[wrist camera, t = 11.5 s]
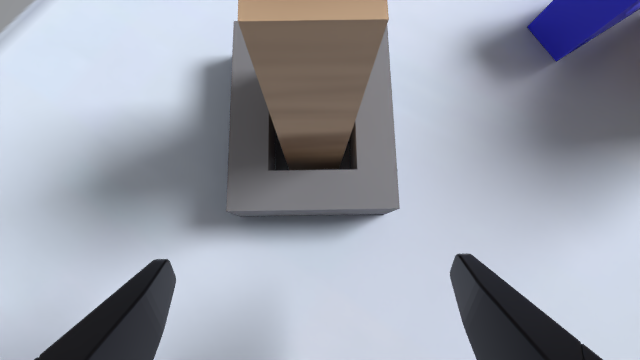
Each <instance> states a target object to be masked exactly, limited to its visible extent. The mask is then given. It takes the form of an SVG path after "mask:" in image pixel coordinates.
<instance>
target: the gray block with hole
mask: <svg viewBox="0 0 640 360" xmlns="http://www.w3.org/2000/svg"><path fill="white" fill-rule="evenodd" d="M349 147H350V170H282V171H275V156H276V130H275V128H274V125H273V122H272V119H271V116H270V113H269V110H268V107H267V104H266V101H265V99H264V96H263V93H262V90H261V87H260V84H259V81H258V78H257V75H256V73H255V70H254V67H253V64H252V61H251V58H250V55H249V52H248V49H247V46H246V44H245V41H244V38H243V35H242V32H241V29H240V26H239V23H238V21H234V30H233V55H232V81H231V106H230V131H229V156H228V181H227V207H226V211H227V212H230V213H233V214H235V215H238V216H291V215H350V214H387V213H389V212H392V211H394V210H397V209H399V193H398V178H397V163H396V148H395V134H394V119H393V104H392V89H391V74H390V59H389V45H388V30H387V26H386V29H385V32H384V35H383V38H382V41H381V44H380V47H379V50H378V53H377V56H376V59H375V62H374V65H373V68H372V71H371V74H370V77H369V80H368V83H367V86H366V89H365V92H364V95H363V98H362V101H361V104H360V107H359V110H358V113H357V117H356V120H355V123H354V126H353V129H352V132H351V135H350V138H349Z"/></svg>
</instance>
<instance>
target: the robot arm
mask: <svg viewBox="0 0 640 360" xmlns="http://www.w3.org/2000/svg"><path fill="white" fill-rule="evenodd" d="M450 278H451V282H452V286H453V289H454V293H455V297H456V300H457V304H458V308H459V312H460V315H461V319H462V322H463V325H464V328H465V331H466V333H467V336H468V339H469V341H470V344H471V346H472V349H473V351H474V354H475V356H476V359H477V360H603V359H602V358H600V357H599V356H598V355H596V354H595V353H594V352H593V351H591V350H590V349H589V348H588V347H586V346H585V345H584V344H581V342H580V341H579V340H578V339H576V338H575V337H574V336H573V335H571V334H570V333H569V332H568V331H566V330H565V329H564V328H563V327H561V326H560V325H559V324H558V323H556V322H555V321H554V320H553V319H551V318H550V317H549V316H548V315H546V314H545V313H544V312H543V311H541V310H540V309H539V308H538V307H536V306H535V305H534V304H533V303H531V302H530V301H529V300H528V299H526V298H525V297H524V296H523V295H521V294H520V293H519V292H518V291H516V290H515V289H514V288H513V287H511V286H510V285H509V284H508V283H506V282H505V281H504V280H503V279H501V278H500V277H499V276H498V275H496V274H495V273H494V272H493V271H491V270H490V269H489V268H488V267H486V266H485V265H484V264H483V263H481V262H480V261H479V260H478V259H476V258H475V257H474V256H473V255H471V254H457V255H456V256H455V258H454V261H453V264H452V267H451V270H450ZM175 284H176V277H175V274H174V271H173V268H172V266H171V263H170V261H169V260H168V259H156V260H153V261H152V262H151V263H149V264H148V265H147V266H146V267H145V268H143V269H142V270H141V271H140V272H139V273H137V274H136V275H135V276H134V277H133V278H131V279H130V280H129V281H128V282H127V283H125V284H124V285H123V286H122V287H121V288H119V289H118V290H117V291H116V292H115V293H113V294H112V295H111V296H110V297H109V298H108V299H106V300H105V301H104V302H103V303H102V304H100V305H99V306H98V307H97V308H96V309H94V310H93V311H92V312H91V313H90V314H88V315H87V316H86V317H85V318H84V319H82V320H81V321H80V322H79V323H78V324H76V325H75V326H74V327H73V328H72V329H70V330H69V331H68V332H67V333H66V334H64V335H63V336H62V337H61V338H60V339H58V340H57V341H56V342H55V343H54V344H52V345H51V346H50V347H49V348H48V349H46V350H45V351H44V352H43V353H42V354H41V355H40V356H39V357H37V358H36V359H34V360H153V359H154V357H155V354H156V351H157V348H158V346H159V343H160V340H161V337H162V334H163V331H164V328H165V324H166V320H167V316H168V312H169V308H170V304H171V300H172V296H173V292H174V288H175Z"/></svg>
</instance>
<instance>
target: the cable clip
mask: <svg viewBox="0 0 640 360" xmlns="http://www.w3.org/2000/svg"><path fill="white" fill-rule="evenodd" d="M639 9H640V0H553V1H552V2H551V3H550V4H549V5H548V6H547V7H546V8H545V9H544V10H543V11H542V12H541V13H540V14H539V15H538V16H537V17H536V18H535V19H534V20H533V21H532V22H531V24H530V25H529V26H528V27H527V28H528V29H529V30H530V31H531V32H532V34H533V35H534V36H535V37H536V38H537V40H538V41H539V42H540V43H541V44H542V46H543V47H544V48H545V49H546V50H547V51H548V53H549V54H550V55H551V56H552V57H553V59H554V60H555V61H558V60H559V59H561V58H563V57H564V56H566V55H567V54H569V53H571V52H572V51H574V50H575V49H577V48H579V47H580V46H582V45H583V44H585V43H586V42H588V41H590V40H591V39H593V38H594V37H596V36H598V35H599V34H601V33H602V32H604V31H606V30H607V29H609V28H610V27H612V26H614V25H615V24H617V23H618V22H620V21H621V20H623V19H625V18H626V17H628V16H629V15H631V14H633V13H634V12H636V11H637V10H639Z"/></svg>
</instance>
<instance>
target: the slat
mask: <svg viewBox="0 0 640 360" xmlns="http://www.w3.org/2000/svg"><path fill="white" fill-rule="evenodd" d="M388 20H389V17H388V5H387V0H238V23H239V26H240V29H241V32H242V35H243V38H244V41H245V44H246V46H247V49H248V52H249V55H250V58H251V61H252V64H253V67H254V70H255V73H256V75H257V78H258V81H259V84H260V87H261V90H262V93H263V96H264V99H265V101H266V104H267V107H268V110H269V113H270V116H271V119H272V122H273V125H274V128H275V130H276V133H277V136H278V139H279V142H280V145H281V148H282V151H283V154H284V157H285V159H286V162H287V165H288V168H289V170H321V169H339V168H340V165H341V162H342V159H343V156H344V153H345V150H346V147H347V144H348V141H349V138H350V135H351V132H352V129H353V126H354V123H355V120H356V117H357V113H358V110H359V107H360V104H361V101H362V98H363V95H364V92H365V89H366V86H367V83H368V80H369V77H370V74H371V71H372V68H373V65H374V62H375V59H376V56H377V53H378V50H379V47H380V44H381V41H382V38H383V35H384V32H385V29H386V26H387V23H388Z"/></svg>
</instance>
